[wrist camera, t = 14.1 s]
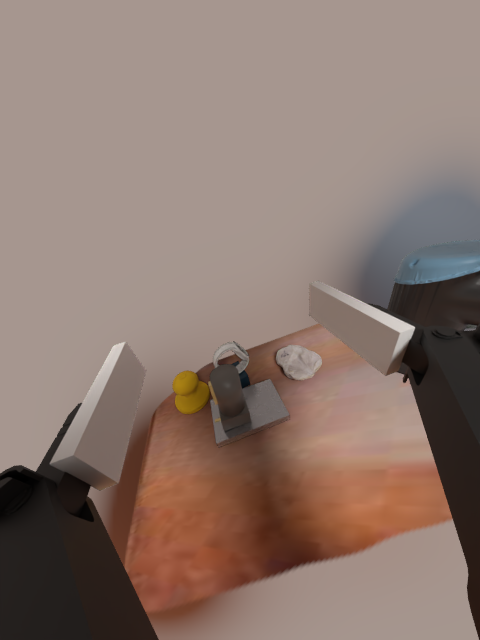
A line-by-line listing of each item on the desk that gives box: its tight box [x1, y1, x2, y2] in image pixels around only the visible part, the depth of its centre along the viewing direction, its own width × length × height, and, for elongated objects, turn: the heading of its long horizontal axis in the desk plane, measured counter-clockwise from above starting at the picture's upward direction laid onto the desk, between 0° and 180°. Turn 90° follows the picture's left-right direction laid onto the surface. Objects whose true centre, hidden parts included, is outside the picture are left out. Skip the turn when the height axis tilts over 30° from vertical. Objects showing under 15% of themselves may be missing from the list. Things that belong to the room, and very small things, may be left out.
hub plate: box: [210, 379, 290, 448], centre depth 36 cm, size 14×9×4 cm, turn 105°
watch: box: [213, 341, 250, 389], centre depth 42 cm, size 6×8×11 cm
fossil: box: [276, 345, 322, 381], centre depth 43 cm, size 9×6×10 cm
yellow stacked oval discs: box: [173, 371, 210, 414], centre depth 41 cm, size 8×8×8 cm
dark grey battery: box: [208, 364, 251, 431], centre depth 33 cm, size 6×5×11 cm
